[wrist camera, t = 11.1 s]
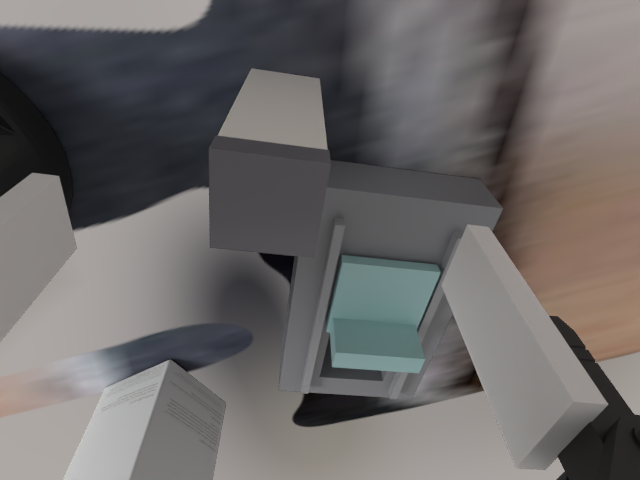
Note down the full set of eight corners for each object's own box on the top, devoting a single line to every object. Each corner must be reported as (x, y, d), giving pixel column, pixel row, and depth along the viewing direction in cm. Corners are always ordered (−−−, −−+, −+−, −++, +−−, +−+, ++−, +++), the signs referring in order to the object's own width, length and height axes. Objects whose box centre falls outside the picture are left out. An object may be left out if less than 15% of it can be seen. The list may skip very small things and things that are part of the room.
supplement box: (101, 386, 40) (11, 574, 28) (171, 356, 38) (105, 547, 25) (164, 427, 45) (110, 605, 32) (229, 403, 42) (198, 584, 30)
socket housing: (280, 353, 38) (278, 398, 34) (308, 157, 26) (308, 191, 22) (403, 362, 39) (414, 407, 35) (479, 178, 28) (508, 215, 24)
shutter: (326, 323, 29) (328, 367, 26) (341, 254, 26) (346, 295, 23) (410, 330, 30) (422, 373, 27) (437, 264, 26) (454, 305, 23)
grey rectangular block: (247, 135, 25) (209, 247, 15) (250, 67, 23) (208, 148, 13) (311, 143, 26) (314, 257, 16) (320, 77, 23) (330, 163, 14)
